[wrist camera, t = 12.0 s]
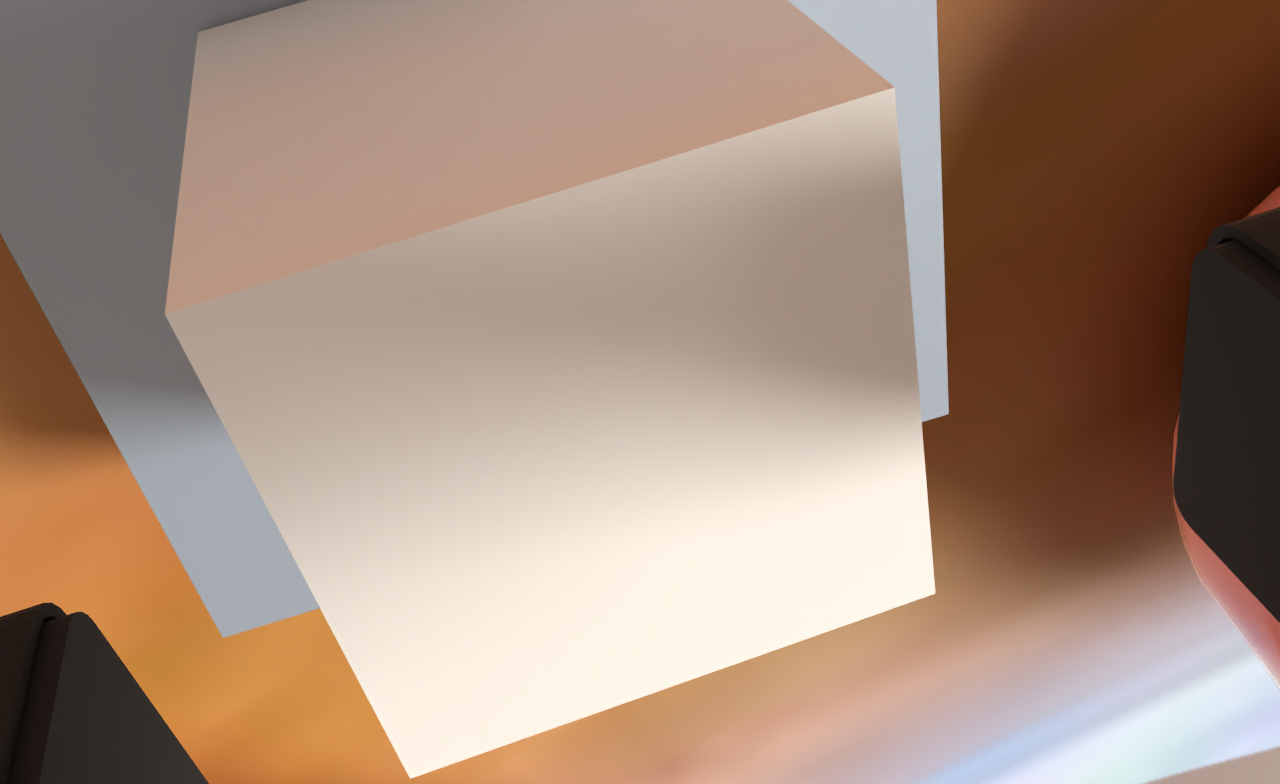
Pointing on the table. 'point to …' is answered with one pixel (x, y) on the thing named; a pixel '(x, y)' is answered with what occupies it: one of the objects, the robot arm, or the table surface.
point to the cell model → (1253, 621)
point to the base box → (144, 232)
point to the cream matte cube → (556, 340)
